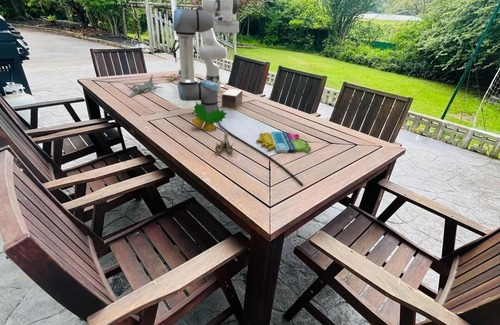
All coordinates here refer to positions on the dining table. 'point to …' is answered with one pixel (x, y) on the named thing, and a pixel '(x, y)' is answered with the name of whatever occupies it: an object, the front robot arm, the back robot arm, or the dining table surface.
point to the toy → (173, 76)
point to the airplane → (144, 87)
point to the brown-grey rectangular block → (232, 99)
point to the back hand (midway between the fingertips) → (225, 39)
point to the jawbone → (224, 145)
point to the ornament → (207, 117)
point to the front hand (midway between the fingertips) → (184, 62)
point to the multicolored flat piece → (283, 142)
